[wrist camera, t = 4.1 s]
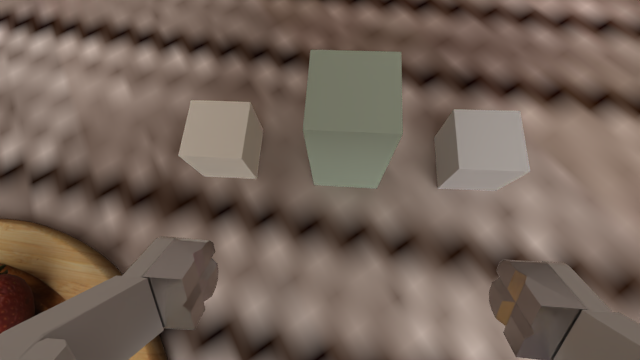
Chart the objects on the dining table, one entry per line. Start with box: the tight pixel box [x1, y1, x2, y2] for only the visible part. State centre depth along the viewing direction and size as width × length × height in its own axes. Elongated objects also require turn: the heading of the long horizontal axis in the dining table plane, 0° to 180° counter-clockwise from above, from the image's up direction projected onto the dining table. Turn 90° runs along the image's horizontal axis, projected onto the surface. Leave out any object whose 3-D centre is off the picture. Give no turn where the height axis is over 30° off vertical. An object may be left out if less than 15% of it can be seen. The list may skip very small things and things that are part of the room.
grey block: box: [434, 109, 530, 191], centre depth 20 cm, size 4×4×4 cm
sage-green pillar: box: [303, 50, 403, 189], centre depth 18 cm, size 4×4×8 cm
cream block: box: [178, 100, 264, 179], centre depth 21 cm, size 4×4×4 cm
